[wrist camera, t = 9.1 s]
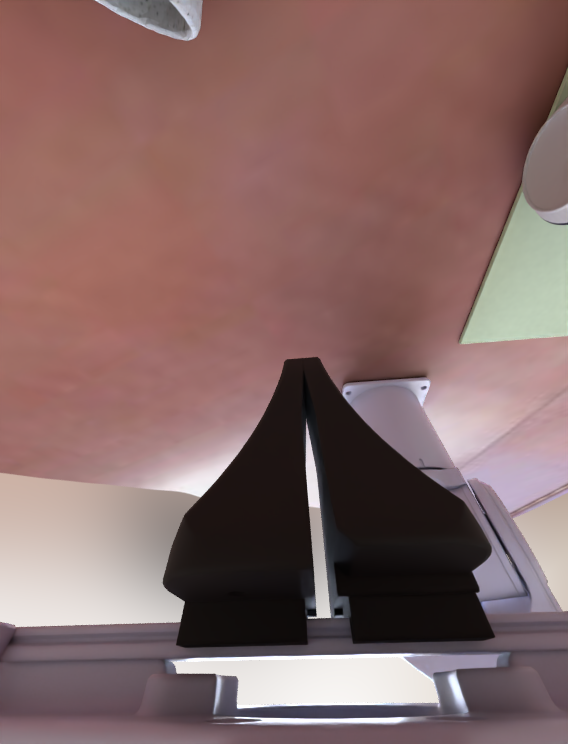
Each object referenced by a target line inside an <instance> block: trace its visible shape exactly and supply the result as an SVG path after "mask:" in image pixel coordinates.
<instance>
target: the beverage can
mask: <svg viewBox="0 0 568 744" xmlns="http://www.w3.org/2000/svg"><path fill="white" fill-rule="evenodd" d="M522 187H523V193H524V197H525V199H526V202H527V203H528V204H529V206H530V207H531V208H532V209H534V210H535V211H536V213H537V214H538V215H539V216H540V217H541V218H542V219H543V220H545V221H547V222H548V223H551V224H555V225H568V97H567V98H566V99H565V100H564V102H563V103H562V104H561V105H560V106H559V108H558V109H557V110H556V111H555V112H554V113H553V114H552V115H551V116H550V117H549V119H548V120H547V121H546V122H545V123H544V125H543V126H542V128H541V129H540V130H539V132H538V134H537V135H536V137H535V139H534V141H533V143H532V145H531V147H530V149H529V152H528V155H527V158H526V161H525V165H524V170H523V177H522Z"/></svg>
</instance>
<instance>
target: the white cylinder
mask: <svg viewBox="0 0 568 744" xmlns="http://www.w3.org/2000/svg"><path fill="white" fill-rule="evenodd" d="M95 1H97V2H99V3H100V4H102V5H104V6H106V7H107V8H109V9H110V10H112V11H114V12H115V13H117V14H119V15H121V16H123V17H125V18H127V19H129V20H131V21H134V22H136V23H138V24H140V25H142V26H144V27H146V28H147V29H150V30H154V31H156V32H157V33H160V34H164V35H167V36H170V37H172V38H175V39H181V40H186V41H189V40H192V39H194V38H196V37H197V35H198V32H199V30H200V27H201V15H202V3H203V0H95Z"/></svg>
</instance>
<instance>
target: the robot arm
mask: <svg viewBox="0 0 568 744" xmlns="http://www.w3.org/2000/svg"><path fill="white" fill-rule="evenodd" d="M430 383H431V381H430V380H429V378H427V377H422V378H409V379H395V380H381V381H367V382H354V383H346V384H345V385H344V386H343V393H342V394H341V392H340V391H339V390H338V388H337V387H336V386H335V384H334V383H333V381H332V380H331V378H330V377H329V375H328V373H327V372H326V370H325V368H324V366H323V364H322V362H321V360H320V359H319V358H318V357H312V358H299V359H287V360H286V361H285V362H284V366H283V370H282V374H281V377H280V380H279V382H278V385H277V387H276V390H275V392H274V395H273V397H272V399H271V401H270V403H269V405H268V407H267V409H266V411H265V413H264V415H263V417H262V418H261V420H260V422H259V424H258V425H257V427H256V428H255V430H254V432H253V433H252V435H251V436H250V438H249V439H248V441H247V442H246V444H245V445H244V446H243V448H242V449H241V451H240V452H239V453H238V455H237V456H236V457H235V459H234V460H233V461H232V462H231V464H230V465H229V466H228V467H227V469H226V470H225V471H224V472H223V473H222V475H221V476H220V477H219V478H218V479H217V481H216V482H215V483H214V484H213V485H212V486H211V487H210V488H209V489H208V491H207V492H206V493H205V494H204V495H203V496H202V497H201V498H200V499H199V500H198V501H197V502H196V503H195V504H194V505H193V506H192V507H191V508H190V509H189V511H188V512H187V513H186V514H185V515H184V518H183V520H182V522H181V524H180V527H179V529H178V532H177V535H176V537H175V540H174V542H173V545H172V548H171V552H170V555H169V559H168V563H167V567H166V570H165V574H164V578H163V585H164V587H165V588H166V589H167V590H168V591H169V592H171V593H172V594H174V595H176V596H177V597H179V598H180V599H182V600H183V601H185V605H184V609H183V614H182V619H181V622H179V623H147V624H146V623H145V624H113V625H111V624H110V625H75V626H41V627H15V625H12V624H8V623H2V622H0V744H568V611H564V612H563V611H562V609H561V608H560V606H559V604H558V602H557V601H556V599H555V597H554V595H553V594H552V592H551V590H550V588H549V586H548V585H547V583H548V581H547V579H546V576H545V574H544V572H543V570H542V568H541V566H540V565H539V563H538V561H537V559H536V557H535V556H534V554H533V552H532V550H531V549H530V547H529V545H528V543H527V542H526V540H525V538H524V537H523V535H522V533H521V532H520V530H519V528H518V527H517V525H516V524H515V522H514V520H513V519H512V517H511V515H510V514H509V512H508V511H507V509H506V508H505V506H504V504H503V503H502V501H501V500H500V498H499V497H498V496H497V494H496V493H495V491H494V490H493V489H492V487H491V486H490V485H488V484H486V483H484V482H480V481H479V480H478V479H476V478H473V479H470V480H468V483H469V485H470V487H471V488H472V490H473V492H474V494H475V498H476V499H477V501H478V503H479V505H480V506H479V505H478V503H477V501H476V499H475V498H474V496H473V494H472V492H471V491H470V489H469V487H468V485H467V484H466V482H465V480H464V478H463V476H462V475H461V473H460V471H459V469H458V468H457V467H455V466H454V464H453V462H452V460H451V458H450V457H449V455H448V453H447V451H446V449H445V447H444V446H443V444H442V442H441V440H440V438H439V437H438V435H437V433H436V431H435V429H434V428H433V426H432V424H431V422H430V420H429V419H428V417H427V415H426V413H425V411H424V410H423V408H422V405H423V403H424V400H425V397H426V394H427V391H428V389H429V386H430ZM422 386H423V387H422ZM347 391H349V392H347ZM306 419H307V425H308V430H309V435H310V440H311V445H312V450H313V455H314V460H315V466H316V472H317V479H318V489H319V498H320V508H321V518H322V527H323V538H324V549H325V559H326V568H327V569H326V570H327V580H328V591H329V602H330V611H331V618H321V619H320V618H318V619H308V617H316V615H317V614H316V600H315V583H314V567H313V554H312V542H311V531H310V530H311V529H310V517H309V505H308V493H307V480H306ZM480 507H481V508H480ZM481 509H482V510H481ZM482 511H483V512H482ZM483 513H484V514H483ZM506 554H507V555H506ZM507 556H508V557H509V559H510V560H509V559H508V557H507ZM510 561H511V562H510ZM511 563H512V564H511ZM353 657H354V658H355V657H401V658H403V659H404V660H405V661H407V662H408V663H409V664H410V665H411V666H413V667H414V668H416V669H417V670H418V671H420V672H421V673H422V674H424V675H425V676H426V677H428V678H429V679H431V680H432V681H433V682H434V684H435V687H436V691H437V694H438V698H439V703H327V704H325V703H324V704H279V705H240V706H237V689H238V679H237V677H236V676H221V675H216V674H177V673H176V668H175V666H174V664H173V663H172V662H170V661H214V660H260V659H261V660H262V659H308V658H353Z"/></svg>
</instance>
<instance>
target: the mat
mask: <svg viewBox="0 0 568 744" xmlns="http://www.w3.org/2000/svg"><path fill="white" fill-rule="evenodd" d="M567 97H568V68H567V71H566V73H565V76H564V78H563V81H562V83H561V86H560V88H559V91H558V94H557V96H556V99H555V101H554V104H553V106H552V109H551V111H550V114H549V116H548V119H549V117H550V116H551V115H552V114H553V113H554V112H555V111H556V110H557V109H558V108H559V106H560V105H561V104H562V103H563V102H564V100H565V99H566V98H567ZM548 119H547V120H548ZM559 336H568V225H555V224H551V223H548V222H547V221H545V220H543V219H542V218H541V217H540V216H539V215H538V214H537V213H536V211H535V210H534V209H532V208H531V207H530V206H529V204H528V203H527V202H526V199H525V197H524V193H523V187H522V184H521V187H520V189H519V192H518V194H517V197H516V199H515V202H514V204H513V207H512V209H511V212H510V214H509V217H508V219H507V222H506V224H505V227H504V229H503V232H502V234H501V237H500V240H499V242H498V245H497V247H496V250H495V252H494V255H493V257H492V260H491V262H490V265H489V267H488V270H487V272H486V275H485V277H484V280H483V282H482V285H481V287H480V290H479V292H478V295H477V297H476V300H475V302H474V305H473V307H472V310H471V313H470V315H469V318H468V320H467V323H466V325H465V328H464V330H463V333H462V335H461V338H460V340H459V343H460V344H469V343H482V342H495V341H508V340H521V339H533V338H546V337H559Z"/></svg>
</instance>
